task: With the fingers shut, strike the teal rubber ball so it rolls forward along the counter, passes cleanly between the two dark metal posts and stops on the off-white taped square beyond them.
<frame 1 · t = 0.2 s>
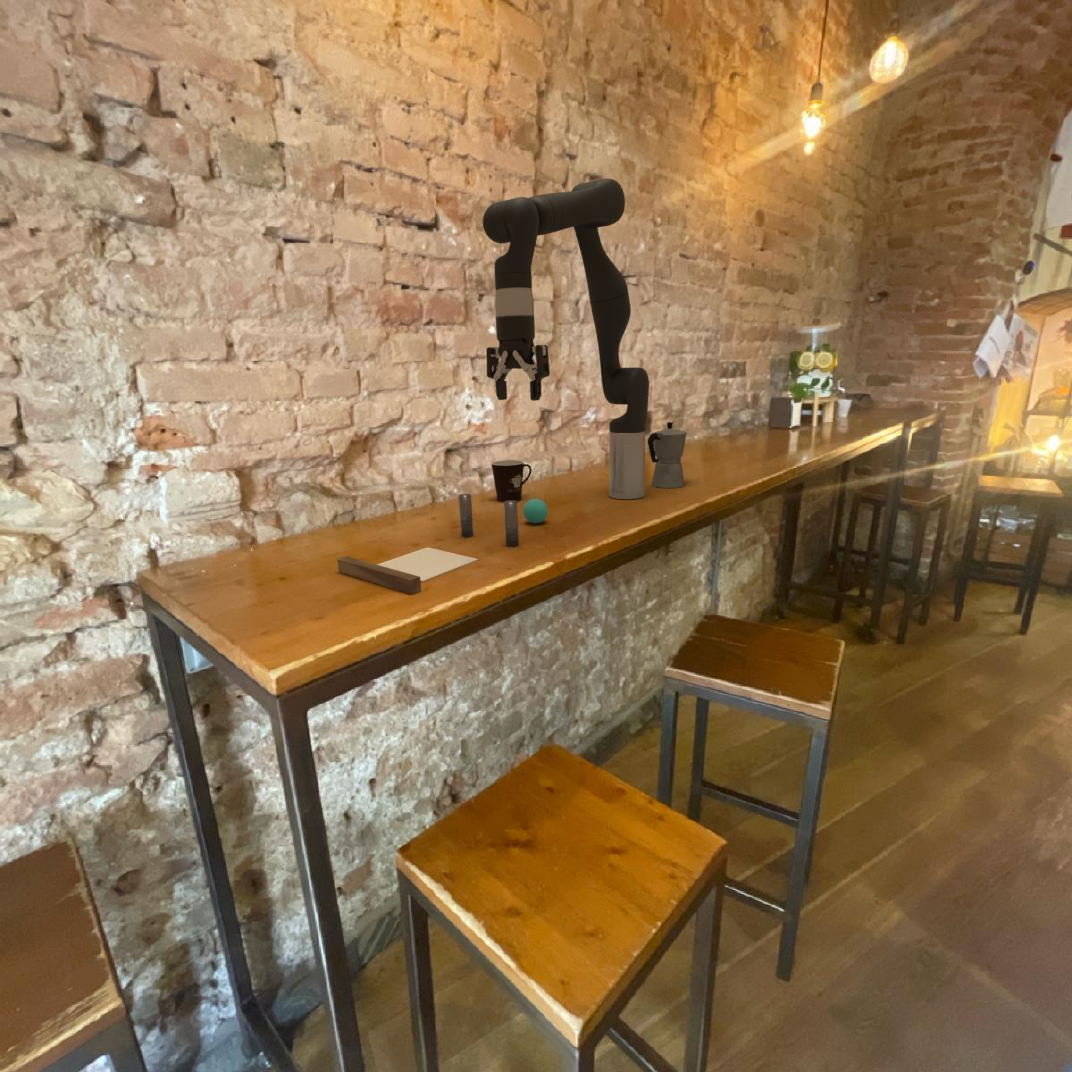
hand: (518, 400, 124), 28 cm above the bar counter, tool pointing down, fingers open, 8 cm apart
ball: (535, 511, 140), on the bar counter
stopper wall: (378, 581, 107), on the bar counter
coffee mug: (514, 499, 166), on the bar counter
coffeepot: (665, 486, 176), on the bar counter
post 1: (467, 535, 133), on the bar counter
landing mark: (425, 563, 116), on the bar counter
post 2: (512, 544, 125), on the bar counter
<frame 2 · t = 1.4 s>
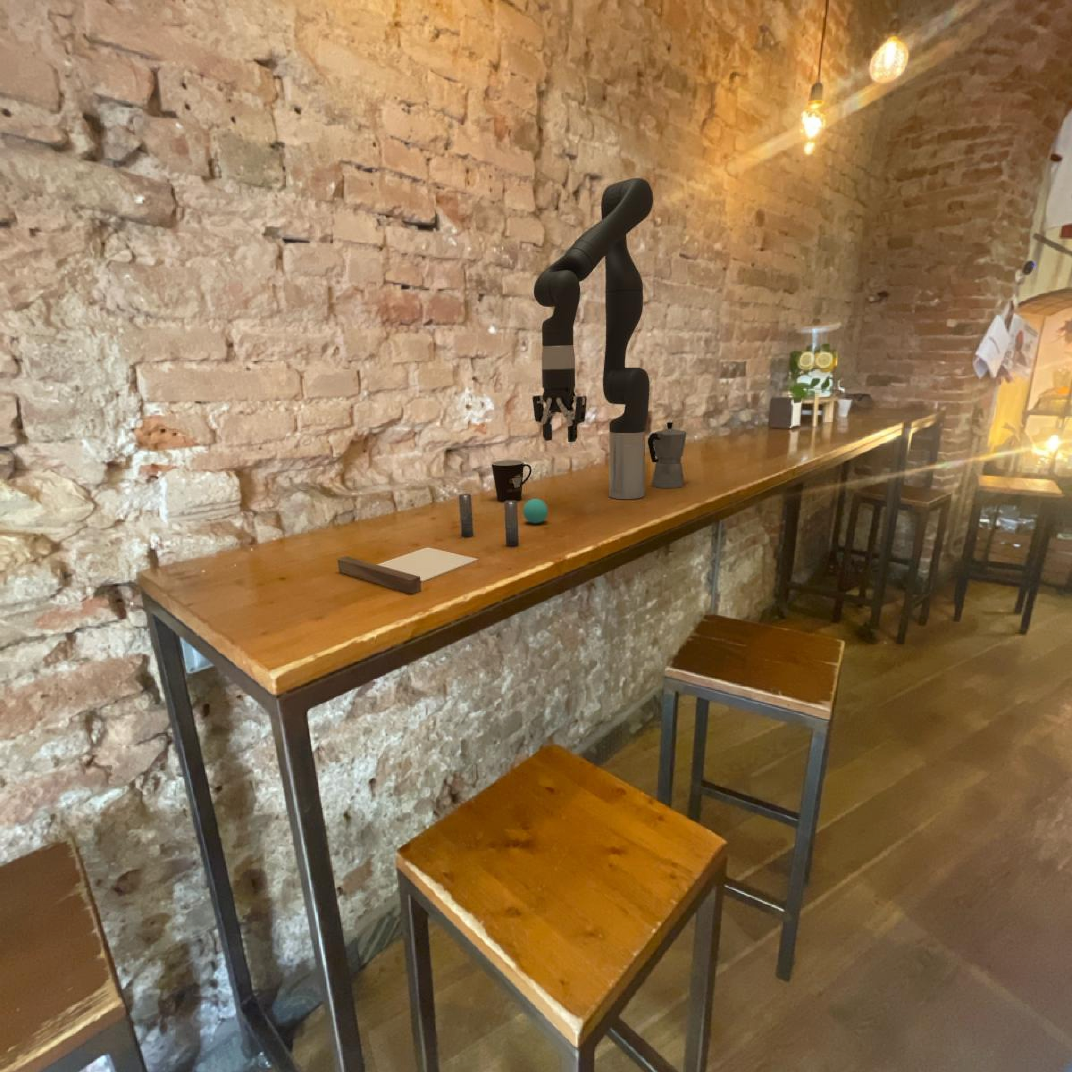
hand: (559, 440, 144), 18 cm above the bar counter, tool pointing down, fingers open, 6 cm apart
nothing on the bar counter moved.
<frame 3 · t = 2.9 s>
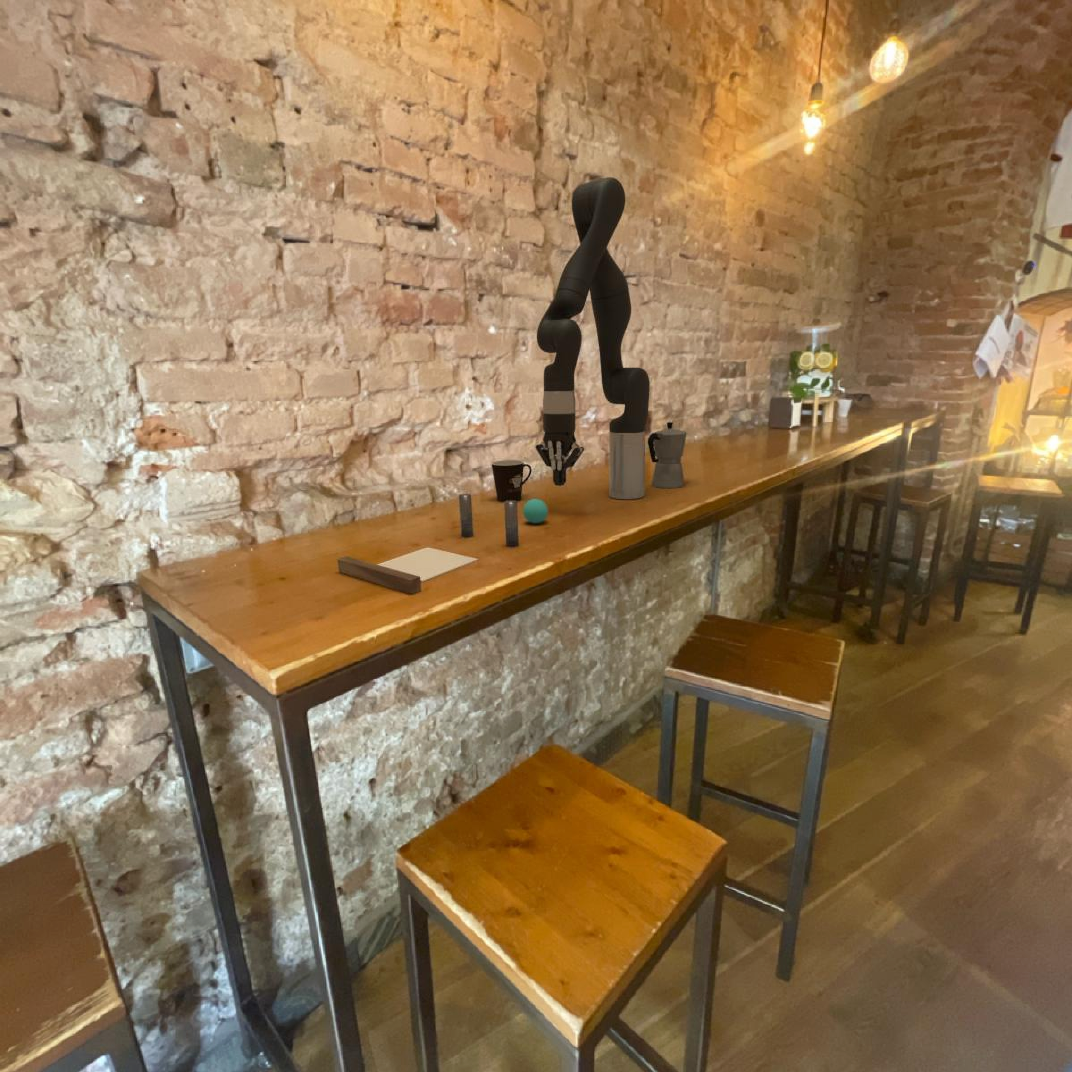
hand: (559, 485, 146), 7 cm above the bar counter, tool pointing down, fingers closed
nothing on the bar counter moved.
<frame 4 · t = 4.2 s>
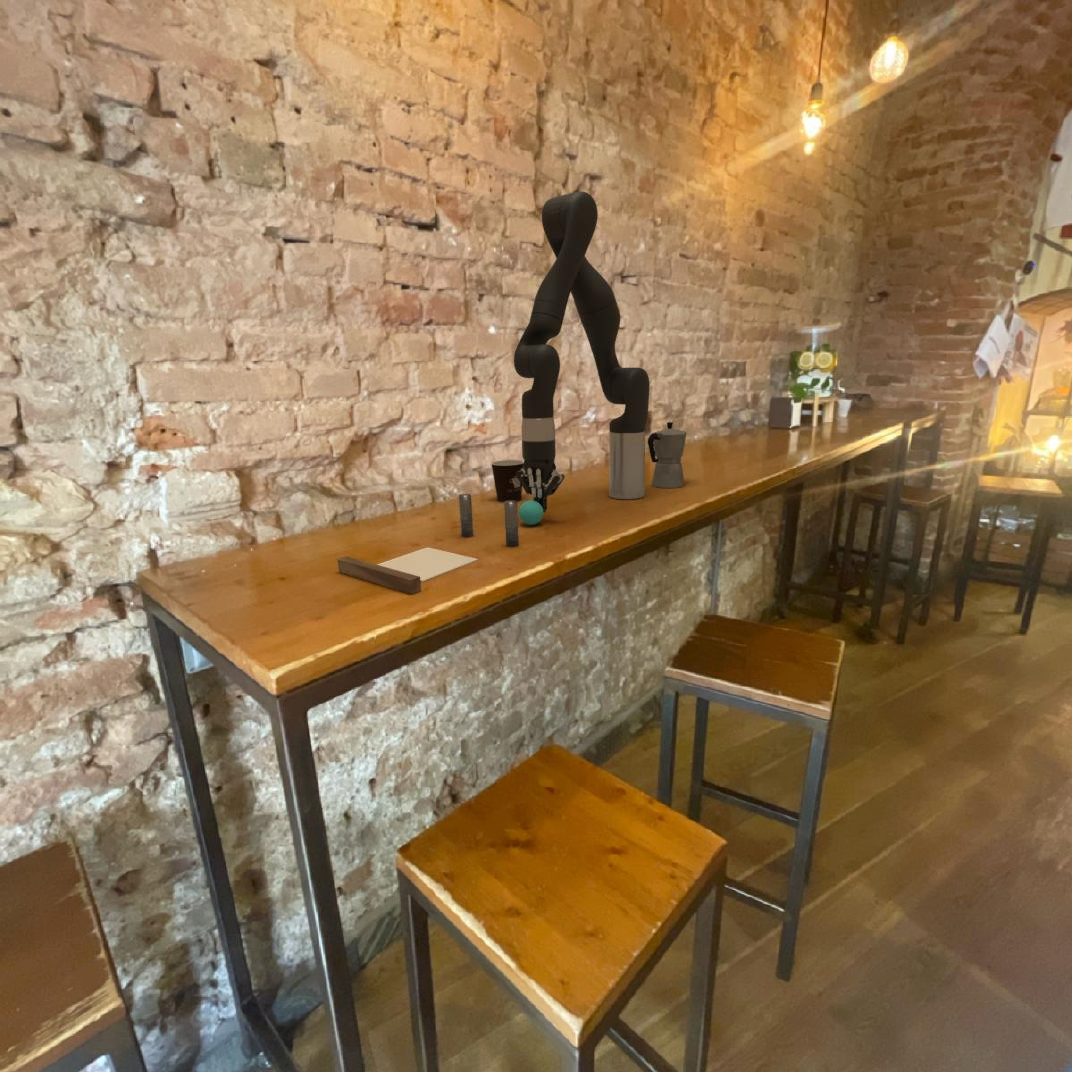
hand: (540, 512, 143), 2 cm above the bar counter, tool pointing down, fingers closed
ball: (531, 512, 139), on the bar counter
everything else where it was.
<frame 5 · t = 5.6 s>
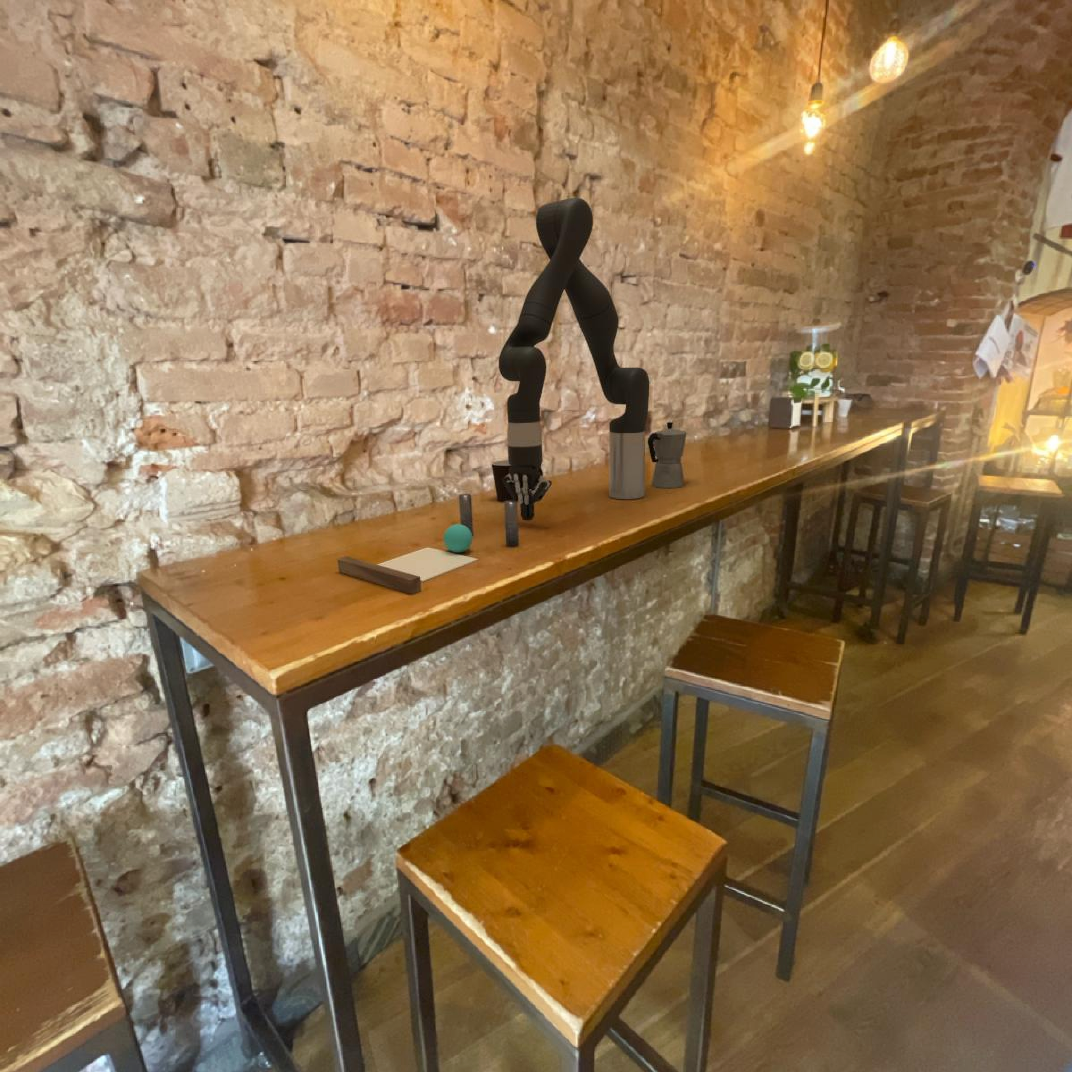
hand: (527, 519, 139), 2 cm above the bar counter, tool pointing down, fingers closed
ball: (458, 538, 121), on the bar counter
everything else where it was.
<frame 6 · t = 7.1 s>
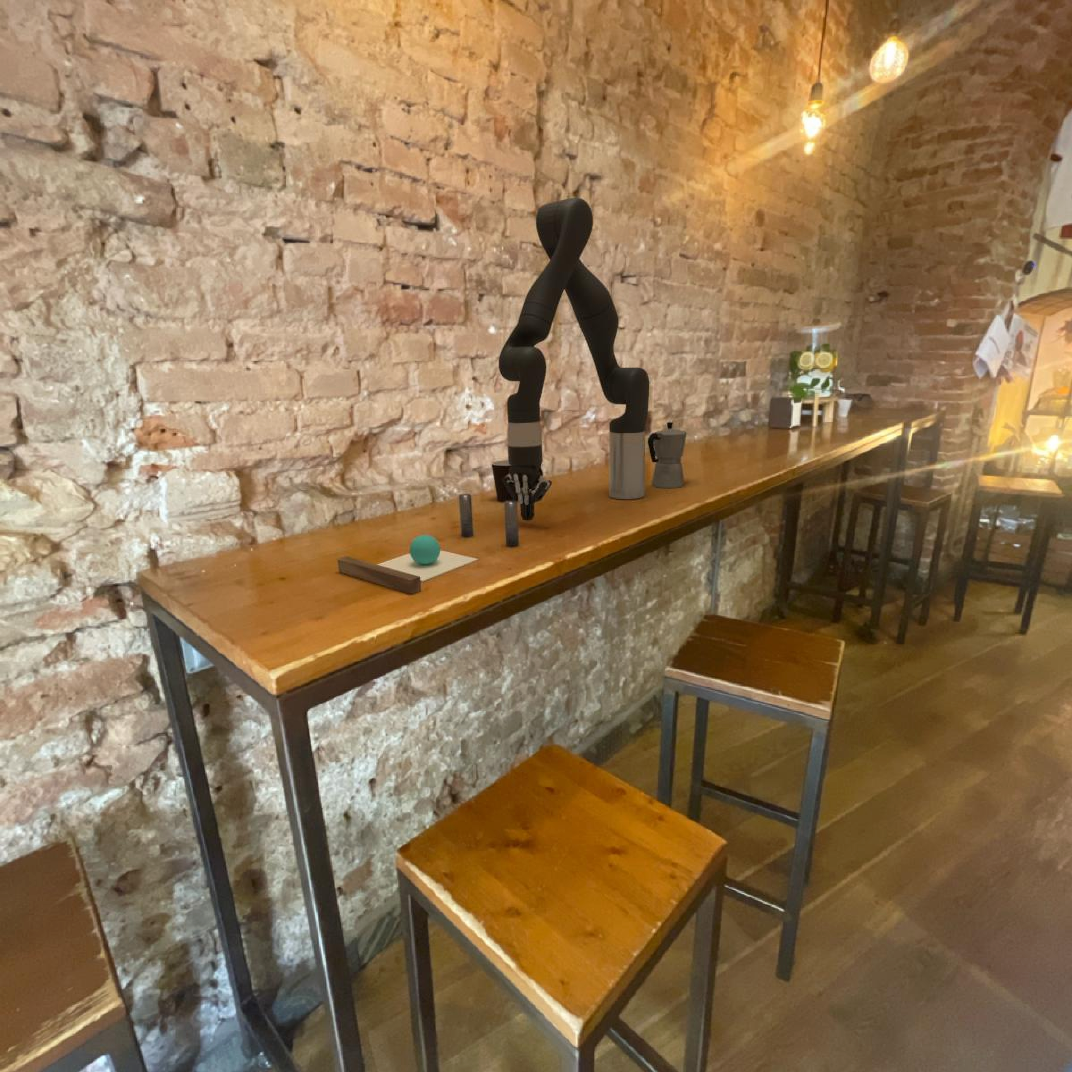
hand: (527, 519, 139), 2 cm above the bar counter, tool pointing down, fingers closed
ball: (424, 549, 115), on the bar counter
everything else where it was.
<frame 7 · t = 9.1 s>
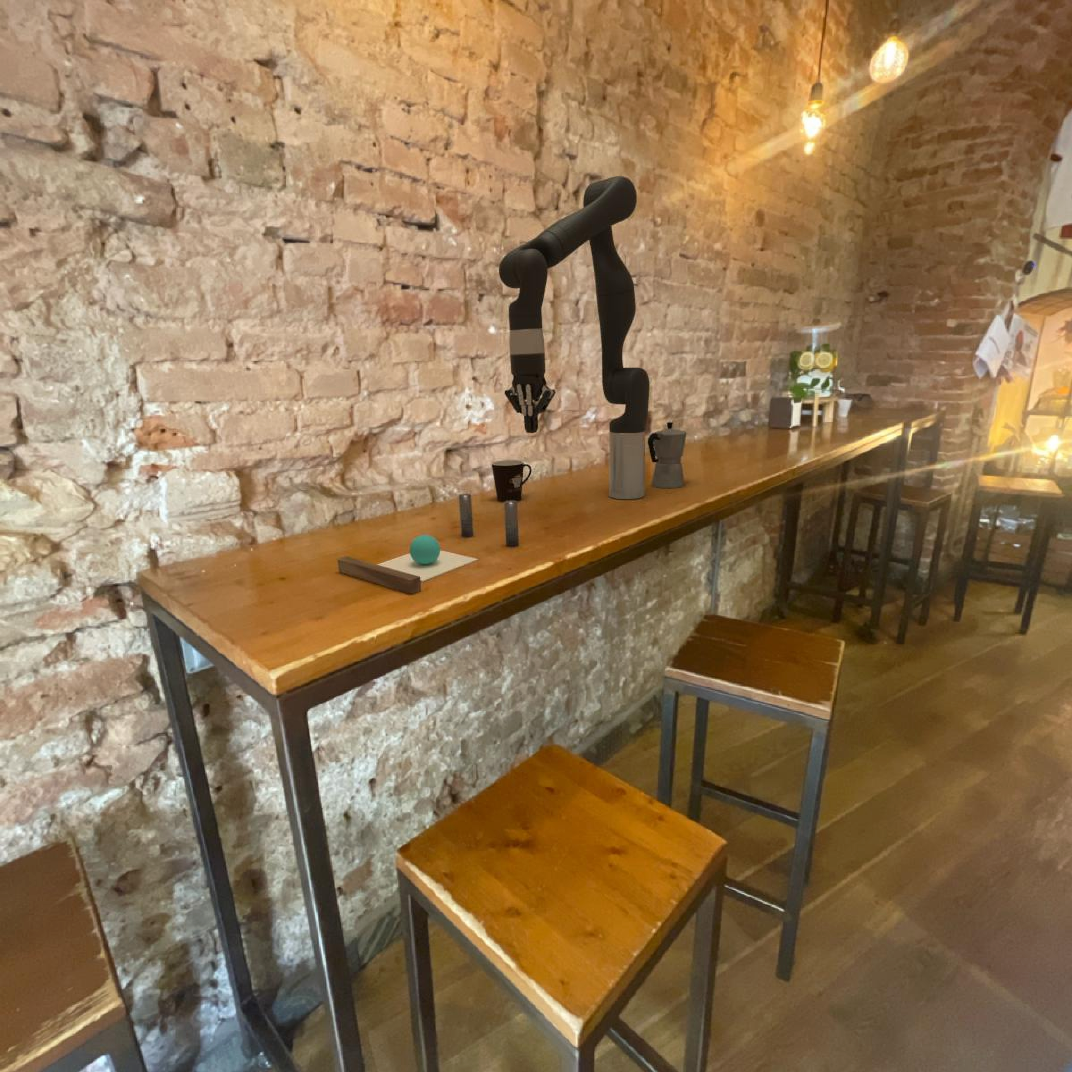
hand: (531, 432, 138), 20 cm above the bar counter, tool pointing down, fingers closed
nothing on the bar counter moved.
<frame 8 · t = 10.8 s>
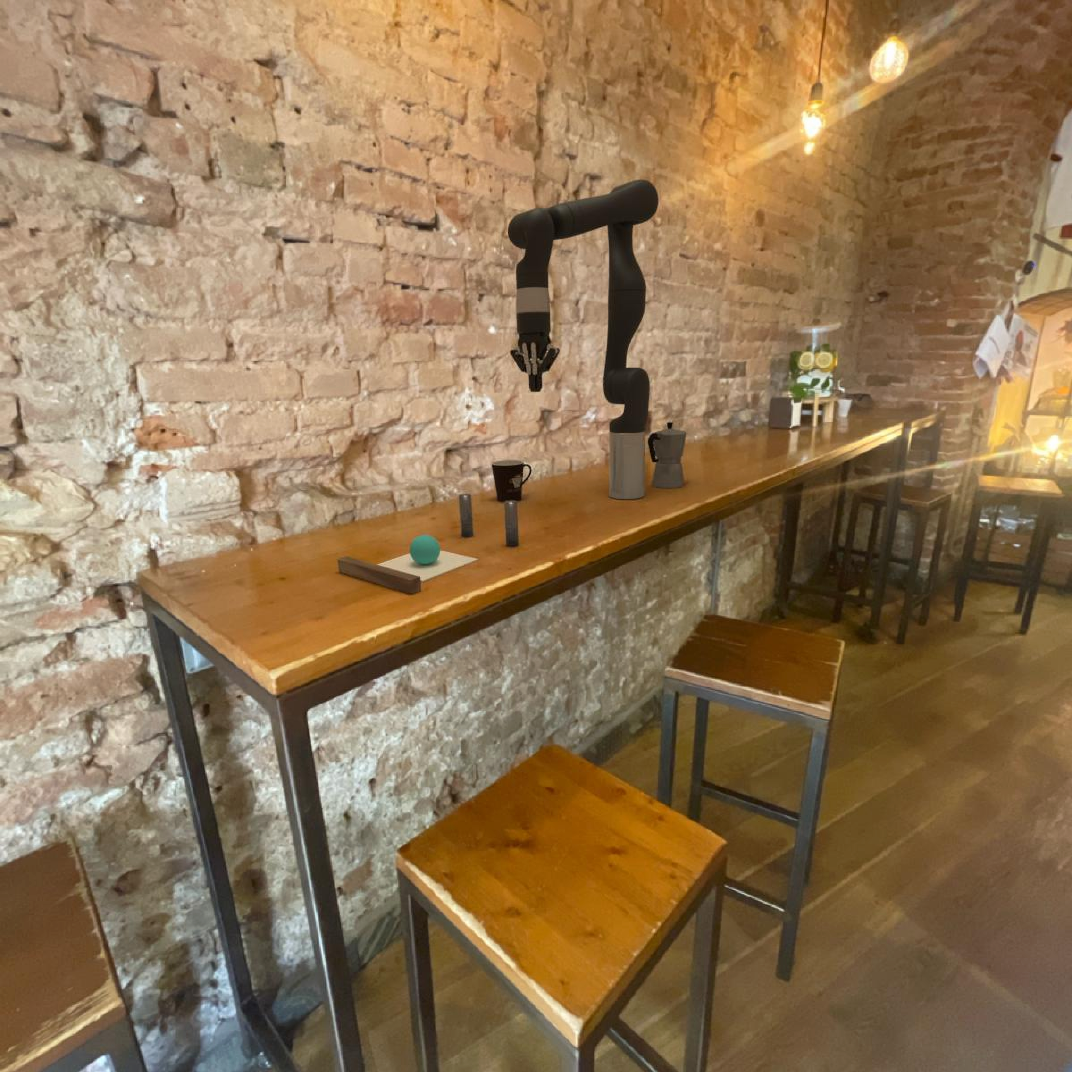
hand: (535, 391, 140), 29 cm above the bar counter, tool pointing down, fingers closed
nothing on the bar counter moved.
at the end: ball 0.4 cm from the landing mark (horizontally); ball never touched post 2; ball never touched post 1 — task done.
